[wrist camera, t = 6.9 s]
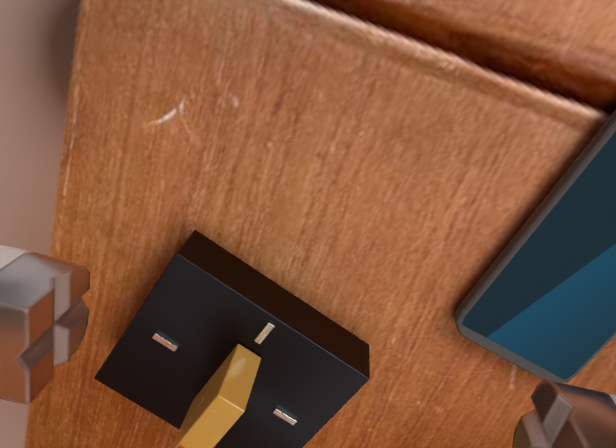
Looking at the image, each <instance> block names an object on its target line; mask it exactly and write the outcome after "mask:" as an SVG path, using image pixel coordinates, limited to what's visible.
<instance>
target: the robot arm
mask: <svg viewBox="0 0 616 448" xmlns="http://www.w3.org/2000/svg"><path fill="white" fill-rule="evenodd" d="M89 289H90V272H89V270H88V269H87V268H86V266H83V265H79V264H76V263H72V262H68V261H64V260H61V259H57V258H53V257H49V256H46V255H42V254H38V253H34V252H30V251H27V250H23V249H19V248H15V247H10V246H0V399H3V400H8V401H12V402H17V403H21V404H26V405H29V404H30V403H31V402H32V401H33V400H34V398H35V397H36V396H37V395H38V394H39V393H40V392H41V391H42V389H43V388H44V387H45V386H46V385H47V384H48V383H49V382H50V380H51V379H52V378H53V366H55V365H57V364H60V363H63V362H65V361H68V360H69V359H70V358H71V356H72V355H73V354H74V353H75V352H76V351H77V349H78V347H79V345H80V343H81V341H82V339H83V337H84V335H85V332H86V328H87V324H88V315H89V309H88V308H87V306H86V304H85V303H84V301H83V299H82V298H81V297H82V296H83V295H84V294H85V293H86V292H87V291H88V290H89ZM531 399H532V402H533V405H534V408H535V409H533V410H532V411H530V412H528V413H526V414H524V415H523V416H521V418H520V420H519V422H518V425H517V427H516V429H515V432H514V439H513V448H616V395H614V394H609V393H605V392H598V391H594V390H589V389H585V388H580V387H576V386H571V385H567V384H562V383H558V382H554V381H549V380H545V379H544V380H542V381H541V382H540V383H539V384H538V385H537V386H536V388H535V390H534V392H533V394H532V396H531Z"/></svg>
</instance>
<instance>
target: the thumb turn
mask: <svg viewBox="0 0 616 448" xmlns="http://www.w3.org/2000/svg"><path fill="white" fill-rule="evenodd" d="M260 361H261V357H259V356H258V355H256V354H254V353H253V352H251V351H250V350H248V349H247V348H245V347H243V346H242V345H240V344H237V346H236V347H235V348H234V349H233V351H232V352H231V353H230V354H229V356H228V357H227V358H226V359H225V361H224V362H223V363H222V364H221V366H220V367H219V368H218V369H217V371H216V372H215V373H214V374H213V376H212V377H211V378H210V379H209V381H208V382H207V383H206V384H205V386H204V387H203V388H202V390H201V391H200V392H199V393H198V395H197V396H196V397H195V398H194V400H193V401H192V403H191V406H190V408H189V410H188V412H187V414H186V416H185V419H184V421H183V423H182V425H181V427H180V430H179V432H178V434H177V436H176V438H175V440H174V443H173V445H172V447H171V448H214V446H215V445H216V444H217V443H218V442H219V441H220V439H221V438H222V437H223V436H224V435H225V434H226V433H227V431H228V430H229V429H230V428H231V427H232V426H233V425H234V423H235V422H236V421H237V420H238V419H239V418H240V416H241V415H242V414H243V413H244V412H245V409H246V406H247V402H248V399H249V396H250V393H251V390H252V386H253V383H254V380H255V377H256V374H257V370H258V367H259V364H260Z"/></svg>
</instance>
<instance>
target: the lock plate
mask: <svg viewBox="0 0 616 448" xmlns="http://www.w3.org/2000/svg"><path fill="white" fill-rule="evenodd" d="M237 344H240V345H242V346H243V347H245V348H247V349H248V350H250V351H251V352H253V353H254V354H256V355H258V356H259V357H261V361H260V364H259V367H258V370H257V374H256V377H255V380H254V383H253V386H252V390H251V393H250V396H249V399H248V402H247V406H246V409H245V412H244V413H243V414H242V415H241V416H240V418H239V419H238V420H237V421H236V422H235V423H234V425H233V426H232V427H231V428H230V429H229V430H228V431H227V433H226V434H225V435H224V436H223V437H222V438H221V439H220V441H219V442H218V443H217V444H216V445H215V446H214V448H302V447H303V446H304V445H305V444H306V443H307V442H308V441H309V440H310V439H311V438H312V437H313V436H314V435H315V434H316V433H317V432H318V431H319V430H320V429H321V428H322V427H323V426H324V425H325V424H326V423H327V422H328V421H329V420H330V419H331V418H332V417H333V416H334V415H335V414H336V413H337V411H338V410H339V409H340V408H341V407H342V406H343V405H344V404H345V403H346V402H347V401H348V400H349V399H350V398H351V397H352V396H353V395H354V394H355V393H356V392H357V391H358V390H359V389H360V388H361V387H362V386H363V385H364V384H365V383H366V382H367V381H368V380H369V379H370V371H369V345H368V344H367V343H365V342H364V341H362V340H361V339H359V338H358V337H356V336H355V335H353V334H352V333H350V332H348V331H347V330H345V329H344V328H342V327H341V326H339V325H338V324H336V323H335V322H333V321H332V320H330V319H329V318H327V317H326V316H324V315H323V314H321V313H320V312H318V311H317V310H315V309H314V308H312V307H311V306H309V305H308V304H306V303H305V302H303V301H302V300H300V299H299V298H297V297H296V296H294V295H293V294H291V293H290V292H288V291H287V290H285V289H284V288H282V287H281V286H279V285H278V284H276V283H275V282H273V281H272V280H270V279H269V278H267V277H266V276H264V275H262V274H261V273H259V272H258V271H256V270H255V269H253V268H252V267H250V266H249V265H247V264H246V263H244V262H243V261H241V260H240V259H238V258H237V257H235V256H234V255H232V254H231V253H229V252H228V251H226V250H225V249H223V248H222V247H220V246H219V245H217V244H216V243H214V242H213V241H211V240H210V239H208V238H207V237H205V236H204V235H202V234H201V233H199V232H198V231H196V230H195V231H194V232H193V233H192V235H191V236H190V237H189V238H188V239H187V241H186V242H185V243H184V244H183V245H182V247H181V248H180V249H179V250H178V252H177V253H176V254H175V256H174V257H173V259H172V260H171V262H170V263H169V265H168V266H167V268H166V269H165V271H164V272H163V274H162V275H161V277H160V279H159V280H158V282H157V283H156V285H155V286H154V288H153V289H152V291H151V292H150V294H149V295H148V297H147V298H146V300H145V301H144V303H143V304H142V306H141V307H140V309H139V310H138V312H137V313H136V315H135V317H134V318H133V320H132V321H131V323H130V324H129V326H128V327H127V329H126V330H125V332H124V333H123V335H122V336H121V338H120V339H119V341H118V342H117V344H116V345H115V347H114V348H113V350H112V351H111V353H110V355H109V356H108V358H107V359H106V361H105V362H104V364H103V365H102V367H101V368H100V370H99V371H98V373H97V374H96V376H95V379H96V380H98V381H99V382H101V383H103V384H104V385H106V386H108V387H109V388H111V389H113V390H114V391H116V392H118V393H119V394H121V395H123V396H124V397H126V398H128V399H129V400H131V401H133V402H135V403H136V404H138V405H140V406H141V407H143V408H145V409H146V410H148V411H150V412H151V413H153V414H155V415H156V416H158V417H160V418H161V419H163V420H165V421H166V422H168V423H170V424H171V425H173V426H175V427H176V428H178V429H180V427H181V425H182V423H183V421H184V419H185V416H186V414H187V412H188V410H189V408H190V406H191V403H192V401H193V400H194V398H195V397H196V396H197V395H198V393H199V392H200V391H201V390H202V388H203V387H204V386H205V384H206V383H207V382H208V381H209V379H210V378H211V377H212V376H213V374H214V373H215V372H216V371H217V369H218V368H219V367H220V366H221V364H222V363H223V362H224V361H225V359H226V358H227V357H228V356H229V354H230V353H231V352H232V351H233V349H234V348H235V347H236V346H237Z"/></svg>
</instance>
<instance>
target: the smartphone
mask: <svg viewBox="0 0 616 448" xmlns="http://www.w3.org/2000/svg"><path fill="white" fill-rule="evenodd" d="M454 318H455V322H456V326H457V329H458V331H459V332H460V333H461V334H462V335H463V336H464V337H465V338H466V339H468V340H470V341H472V342H474V343H476V344H478V345H479V346H481V347H483V348H485V349H487V350H489V351H491V352H492V353H494V354H496V355H498V356H500V357H502V358H504V359H505V360H507V361H509V362H511V363H513V364H515V365H517V366H519V367H520V368H522V369H524V370H526V371H528V372H530V373H532V374H533V375H535V376H537V377H539V378H541V379H543V380H544V379H545V380H549V381H554V382H558V383H564V382H568V381H569V380H571V379H572V378H573V377H575V376H576V375H577V374H578V373H579V372H580V371H581V370H582V369H583V368H584V367H585V366H586V365H587V364H588V363H589V362H590V361H591V360H592V359H593V358H594V357H595V356H596V355H597V354H598V353H599V352H600V351H601V350H602V349H603V348H604V347H605V346H606V345H607V344H608V343H609V342H610V341H611V340H612V339H613V338H614V337H615V336H616V109H615V111H614V112H613V113H612V114H611V116H610V117H609V118H608V119H607V121H606V122H605V123H604V124H603V126H602V127H601V128H600V129H599V131H598V132H597V133H596V134H595V136H594V137H593V138H592V139H591V141H590V142H589V143H588V144H587V146H586V147H585V148H584V149H583V151H582V152H581V153H580V155H579V156H578V157H577V158H576V160H575V161H574V162H573V163H572V165H571V166H570V167H569V168H568V170H567V171H566V172H565V173H564V175H563V176H562V177H561V178H560V180H559V181H558V182H557V183H556V185H555V186H554V187H553V188H552V190H551V191H550V192H549V193H548V195H547V196H546V197H545V198H544V200H543V201H542V202H541V203H540V205H539V206H538V207H537V208H536V210H535V211H534V212H533V213H532V215H531V216H530V217H529V218H528V220H527V221H526V222H525V223H524V225H523V226H522V227H521V228H520V230H519V231H518V232H517V233H516V235H515V236H514V237H513V239H512V240H511V241H510V242H509V244H508V245H507V246H506V247H505V249H504V250H503V251H502V252H501V254H500V255H499V256H498V257H497V259H496V260H495V261H494V262H493V264H492V265H491V266H490V267H489V269H488V270H487V271H486V272H485V274H484V275H483V276H482V277H481V279H480V280H479V281H478V282H477V284H476V285H475V286H474V287H473V289H472V290H471V291H470V292H469V294H468V295H467V296H466V297H465V299H464V300H463V301H462V302H461V304H460V305H459V306H458V308H457V310H456V312H455V314H454Z"/></svg>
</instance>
